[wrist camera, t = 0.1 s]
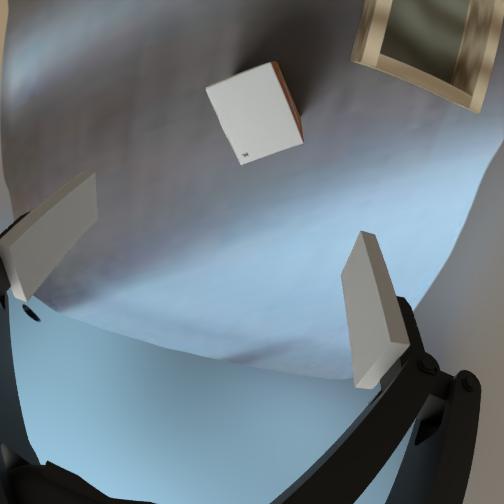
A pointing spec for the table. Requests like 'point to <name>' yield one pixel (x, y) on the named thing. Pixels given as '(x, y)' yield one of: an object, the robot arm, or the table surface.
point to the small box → (257, 112)
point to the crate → (433, 44)
